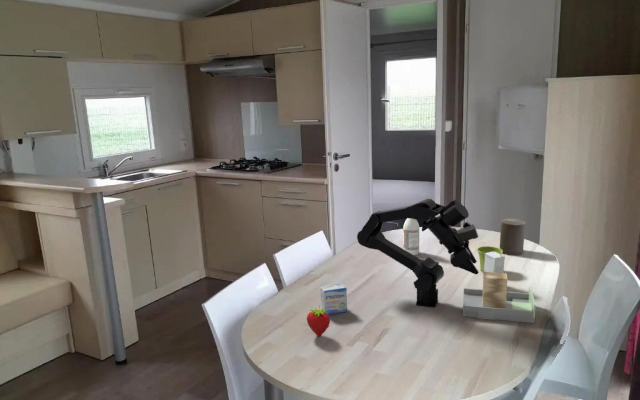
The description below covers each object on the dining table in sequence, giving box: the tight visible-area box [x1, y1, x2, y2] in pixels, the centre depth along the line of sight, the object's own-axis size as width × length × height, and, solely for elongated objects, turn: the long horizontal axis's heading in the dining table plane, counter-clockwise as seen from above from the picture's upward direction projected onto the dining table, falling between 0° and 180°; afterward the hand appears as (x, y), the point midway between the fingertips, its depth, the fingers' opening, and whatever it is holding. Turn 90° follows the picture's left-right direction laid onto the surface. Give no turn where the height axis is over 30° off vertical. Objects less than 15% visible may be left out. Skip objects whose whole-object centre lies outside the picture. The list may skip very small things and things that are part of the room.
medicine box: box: [320, 283, 348, 316], centre depth 159 cm, size 8×4×9 cm, turn 105°
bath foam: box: [402, 218, 420, 256], centre depth 210 cm, size 7×7×20 cm
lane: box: [462, 286, 537, 324], centre depth 155 cm, size 21×14×6 cm, turn 73°
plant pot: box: [476, 245, 503, 273], centre depth 188 cm, size 9×9×9 cm
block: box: [482, 272, 508, 309], centre depth 154 cm, size 7×5×10 cm
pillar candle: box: [499, 218, 526, 256], centre depth 207 cm, size 10×10×15 cm
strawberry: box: [306, 305, 331, 337], centre depth 143 cm, size 6×8×10 cm
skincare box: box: [484, 252, 506, 273], centre depth 173 cm, size 6×4×12 cm
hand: (476, 267), depth 155 cm, fingers open, 9 cm apart
